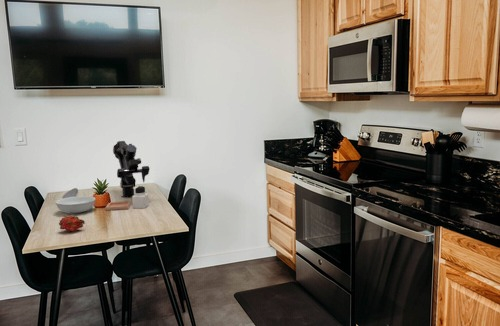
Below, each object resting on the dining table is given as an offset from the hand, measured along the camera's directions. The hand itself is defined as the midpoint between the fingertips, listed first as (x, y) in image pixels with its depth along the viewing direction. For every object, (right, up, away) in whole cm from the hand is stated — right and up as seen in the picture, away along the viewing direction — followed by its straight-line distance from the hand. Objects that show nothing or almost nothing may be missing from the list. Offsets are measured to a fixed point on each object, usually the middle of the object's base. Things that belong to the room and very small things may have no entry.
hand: (136, 182), depth 255 cm
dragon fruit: (-18, -21, -48) cm, 55 cm away
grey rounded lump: (-44, -13, +13) cm, 48 cm away
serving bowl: (-31, -16, -10) cm, 37 cm away
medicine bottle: (+4, -14, -4) cm, 15 cm away
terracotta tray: (-9, -14, -4) cm, 18 cm away
